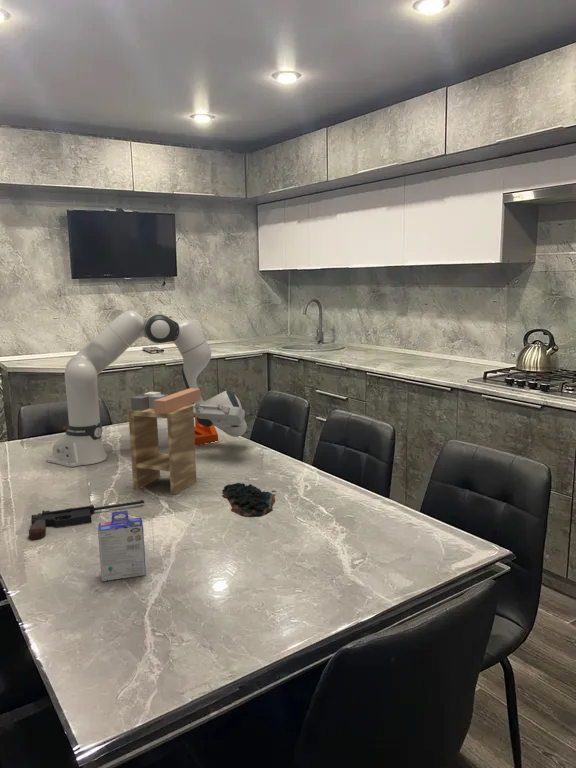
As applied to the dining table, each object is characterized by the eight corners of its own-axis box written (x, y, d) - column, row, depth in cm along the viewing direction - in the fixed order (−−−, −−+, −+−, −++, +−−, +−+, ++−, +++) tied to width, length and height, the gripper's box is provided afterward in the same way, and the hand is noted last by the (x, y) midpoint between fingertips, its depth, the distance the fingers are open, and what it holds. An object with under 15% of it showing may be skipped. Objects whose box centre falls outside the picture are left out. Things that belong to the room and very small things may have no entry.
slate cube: (149, 408, 190) (149, 396, 190) (156, 406, 194) (156, 394, 193) (160, 409, 189) (159, 397, 188) (167, 407, 193) (166, 394, 192)
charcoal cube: (131, 410, 189) (130, 397, 188) (139, 407, 192) (138, 395, 192) (142, 410, 187) (141, 398, 187) (149, 408, 191) (148, 396, 190)
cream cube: (144, 405, 195) (143, 393, 194) (151, 403, 199) (150, 391, 198) (154, 406, 194) (154, 394, 193) (161, 404, 197) (160, 392, 197)
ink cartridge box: (145, 565, 140) (141, 506, 138) (146, 575, 135) (143, 515, 133) (101, 571, 138) (97, 512, 135) (101, 582, 132) (96, 521, 130)
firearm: (151, 523, 166) (143, 504, 180) (151, 513, 166) (142, 495, 179) (29, 542, 155) (30, 521, 168) (28, 532, 154) (29, 511, 168)
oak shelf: (133, 488, 192) (128, 410, 188) (155, 476, 204) (151, 402, 200) (175, 494, 187) (171, 413, 182) (196, 481, 199) (193, 405, 194)
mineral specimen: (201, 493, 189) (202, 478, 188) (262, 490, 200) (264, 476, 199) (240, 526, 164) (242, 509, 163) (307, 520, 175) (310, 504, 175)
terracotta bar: (154, 413, 184) (153, 400, 183) (190, 399, 204) (190, 388, 203) (165, 413, 182) (164, 401, 182) (200, 400, 203) (200, 388, 202)
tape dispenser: (173, 438, 256) (172, 419, 255) (200, 433, 263) (199, 415, 261) (189, 447, 241) (189, 427, 240) (218, 442, 248) (217, 423, 246)
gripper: (200, 407, 229) (183, 396, 217) (248, 410, 222) (234, 398, 210) (197, 423, 227) (180, 412, 215) (245, 427, 220) (231, 415, 208)
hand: (207, 405), depth 212 cm, fingers open, 8 cm apart
